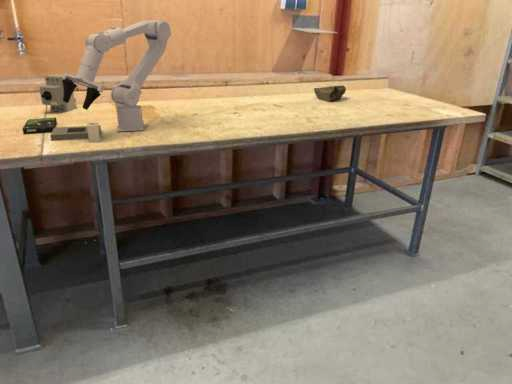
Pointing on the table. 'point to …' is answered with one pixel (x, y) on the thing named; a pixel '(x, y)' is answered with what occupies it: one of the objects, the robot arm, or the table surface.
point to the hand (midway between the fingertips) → (75, 105)
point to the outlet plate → (70, 133)
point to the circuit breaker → (56, 94)
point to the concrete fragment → (330, 93)
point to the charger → (93, 132)
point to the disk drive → (39, 126)
